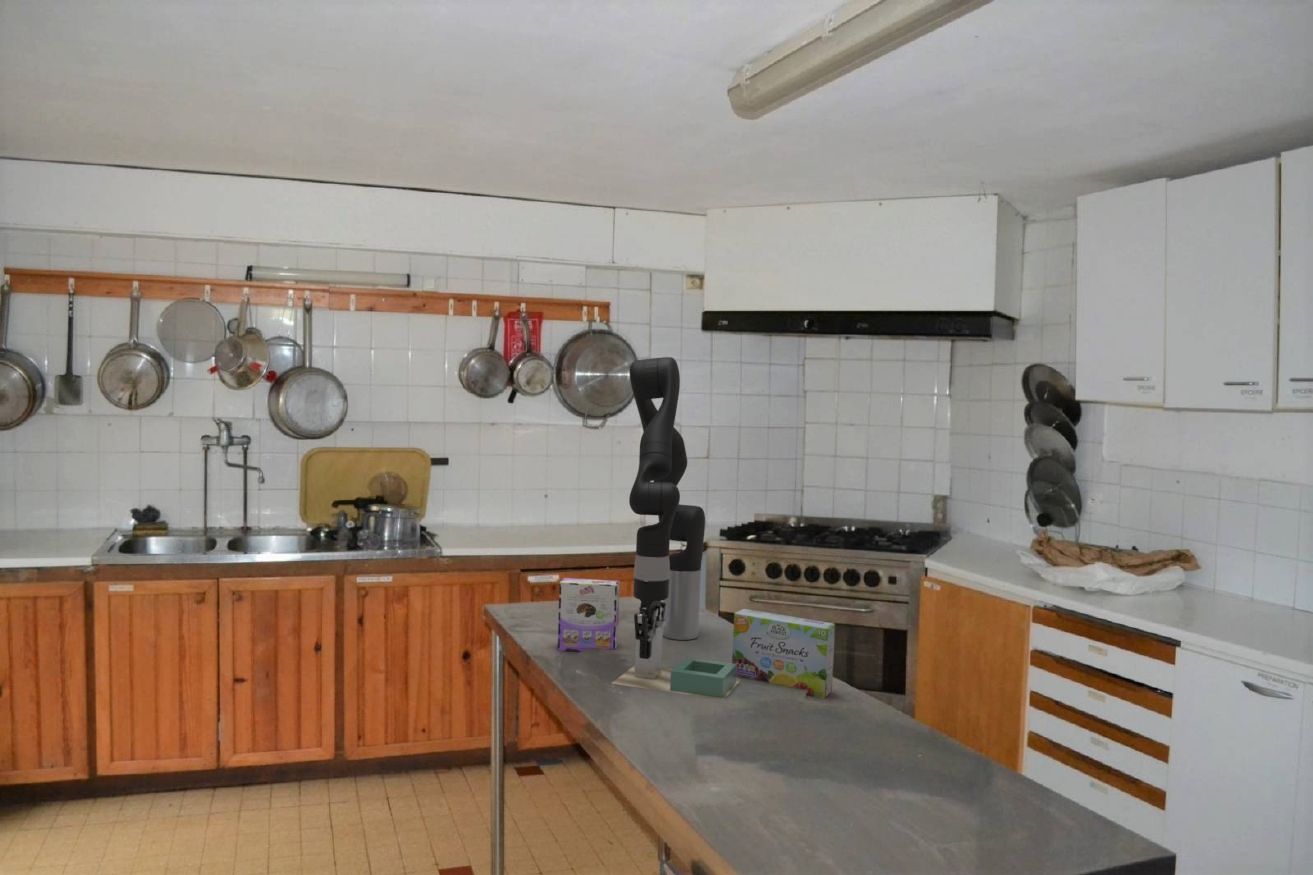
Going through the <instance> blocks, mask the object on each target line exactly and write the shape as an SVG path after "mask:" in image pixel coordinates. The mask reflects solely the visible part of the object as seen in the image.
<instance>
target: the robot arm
mask: <svg viewBox="0 0 1313 875" xmlns="http://www.w3.org/2000/svg"><path fill="white" fill-rule="evenodd" d="M680 375H681V374H680V370H679V365H678V363H677V361H676V359H675V358H674V357H671V356H669V357H668V356H664V357H662V356H661V357H652V358H644V359H637V360H634V361H633V362H632V363H630V366H629V381H630V386H631V390H632V393H633V398H634V401H635V405H636V408H637V412H638V414H639V418H640V423H641V427H642V431H643V432H642V434H641V438H640V442H639V456H638V458H639V460H638V469H637V470H638V471H637V473H636V477H635V480H634V482H633V484H632V487H631V489H630V490H631V491H630V492H629V497H628V500H629V502H628V503H629V506H630V509H631V511H632V512H633V513H634V514H636V515H639V516H658V522H656V523H653V524H650V525H649V524H648V525H644V526H640V527H639V528H638V529H637V531H636V542H635V543H636V544H635V545H636V546H635V547H636V548H635V560H634V566H633V567H634V569H633V570H634V571H633V589H632V590H633V591H632V592H633V595H632V596H633V597H634V598H635V599H637V600H639V601H640V606H639V607H638V612H637V613H634V616H633V620H634V621H633V623H634V622H635V624H634V634H635V640H636V639H637V640H640V651H639V657H640V658H643V659H649V658H650V648H651V634H652V630H654V628H655V622H656V619H662V620H666V626H664V627H663V638H666V639H670V640H678V641H682V640H683V641H686V640H689V641H690V640H693V639H697V638H698V637H699V626H700V625H699V623H700V601H701V579H702V578H701V577H702V576H701V574H702V573H701V572H702V560H703V554H704V539H705V537H704V536H705V530H706V514H705V510H704V508H702V507H701V506H700V505H699V506H698V505H692V504H691V505H690V504H689V505H688V504H680V501H681V493H680V491H679V488H678V485H679V483H680V481H682V480H681V479H682V478H683V476H684V474H685V473H686V470H687V467H688V456H687V451H686V446H685V441H684V437H682V434H681V433H680V432H679V430H677V429H676V428H675V420H676V416H677V408H678V404H679V402H678V401H679V395H680V388H681V379H680V377H681V376H680ZM655 399H662V402H661V404H660V406H659V408H658V409H657V407H656V404H655V403H654V401H653V400H655ZM670 541H674V542H684V543H686V545H685V548H684V549H683V550H682V551H679V552H675V553H672V554H670ZM648 625H651V626H648ZM643 631H644V634H643Z"/></svg>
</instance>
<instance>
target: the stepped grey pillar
mask: <svg viewBox="0 0 1313 875" xmlns="http://www.w3.org/2000/svg"><path fill="white" fill-rule="evenodd" d="M633 624H634V625H635V622H634V621H633ZM648 626H651V625H648ZM664 626H666V620H662V619H656V622H655V628H654V630H652V634H651V648H650V658H649V659H643V658H640V657H639V651H640V640H637V639H636V638H635V650H634V651H635V652H634V653H635V654H634V666H635V674H634V676H636V677H643V678H650V679H655V678H656V677H658V676H659V675H660V674H661V668H663V667H662V663H663V662H662V661H663V638H664V636H663V627H664ZM643 634H644V631H643Z"/></svg>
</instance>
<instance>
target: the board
mask: <svg viewBox="0 0 1313 875" xmlns="http://www.w3.org/2000/svg"><path fill="white" fill-rule="evenodd" d="M671 670H673V669H672V668H665V667H664V668H663V667H662V668H661V674H660V675H659V676H658V677H656V678H655V679H650V678H643V677H636V676H634V674H635V665H633V666H632V667H630V668H629V669H628V670H627V671H625V672H624V673H623V674H622V675H620V676H619V677H617V678H616V679H615V680H613V681H612V682H611V684H613V685H619V686H625V687H631V688H638V689H639V688H640V689H646V690H653V691H658V692H659V691H660V692H666V693H673V694H680V695H687V696H693V697H700V698H701V697H702V698H707V699H714V700H721V701H724V700H725V699H726V698H727V697H728V696H729V695H730V693H731V692H732V691H733V690H735V688H736V687H737V685H739V683H740V682H741V681H742V680H743V678H737V677H736V683H735V684H734V686H733V687H732V688H731V689H730V690H729V691H728V692H727V693H726V695H725V696H724V697H723V698H719V697H712V696H705V695H699V694H692V693H685V692H678V691H671V690H670V682H671Z"/></svg>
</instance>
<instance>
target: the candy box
mask: <svg viewBox="0 0 1313 875" xmlns="http://www.w3.org/2000/svg"><path fill="white" fill-rule="evenodd" d="M558 588H559V589H558V591H559V592H558V618H557V619H558V622H557V623H558V625H557V626H558V630H557V651H560V652H561V651H562V652H563V651H565V652H579V653H581V652H583V651H585V649H587V648H589V649H602V650H603V649H604V650H605V649H606V650H616V648H617V646H618V644H619V642H618V641H619V619H620V618H619V617H620V616H619V612H620V580H612V579H611V580H609V579H592V578H590V579H588V578H571V577H563V578H562V580H560V581H559V584H558Z"/></svg>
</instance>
